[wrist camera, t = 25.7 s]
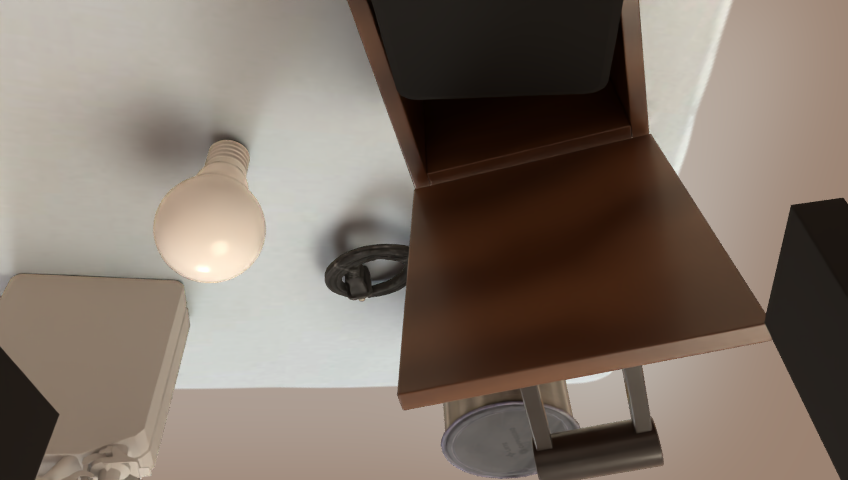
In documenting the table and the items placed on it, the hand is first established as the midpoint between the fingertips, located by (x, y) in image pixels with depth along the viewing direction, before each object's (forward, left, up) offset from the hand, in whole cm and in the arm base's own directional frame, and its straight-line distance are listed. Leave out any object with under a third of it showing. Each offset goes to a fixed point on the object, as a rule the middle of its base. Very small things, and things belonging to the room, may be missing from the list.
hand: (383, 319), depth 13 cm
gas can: (+30, -27, -33) cm, 52 cm away
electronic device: (+6, +9, -22) cm, 25 cm away
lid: (+14, +5, -15) cm, 21 cm away
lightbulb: (+18, -14, -33) cm, 40 cm away
